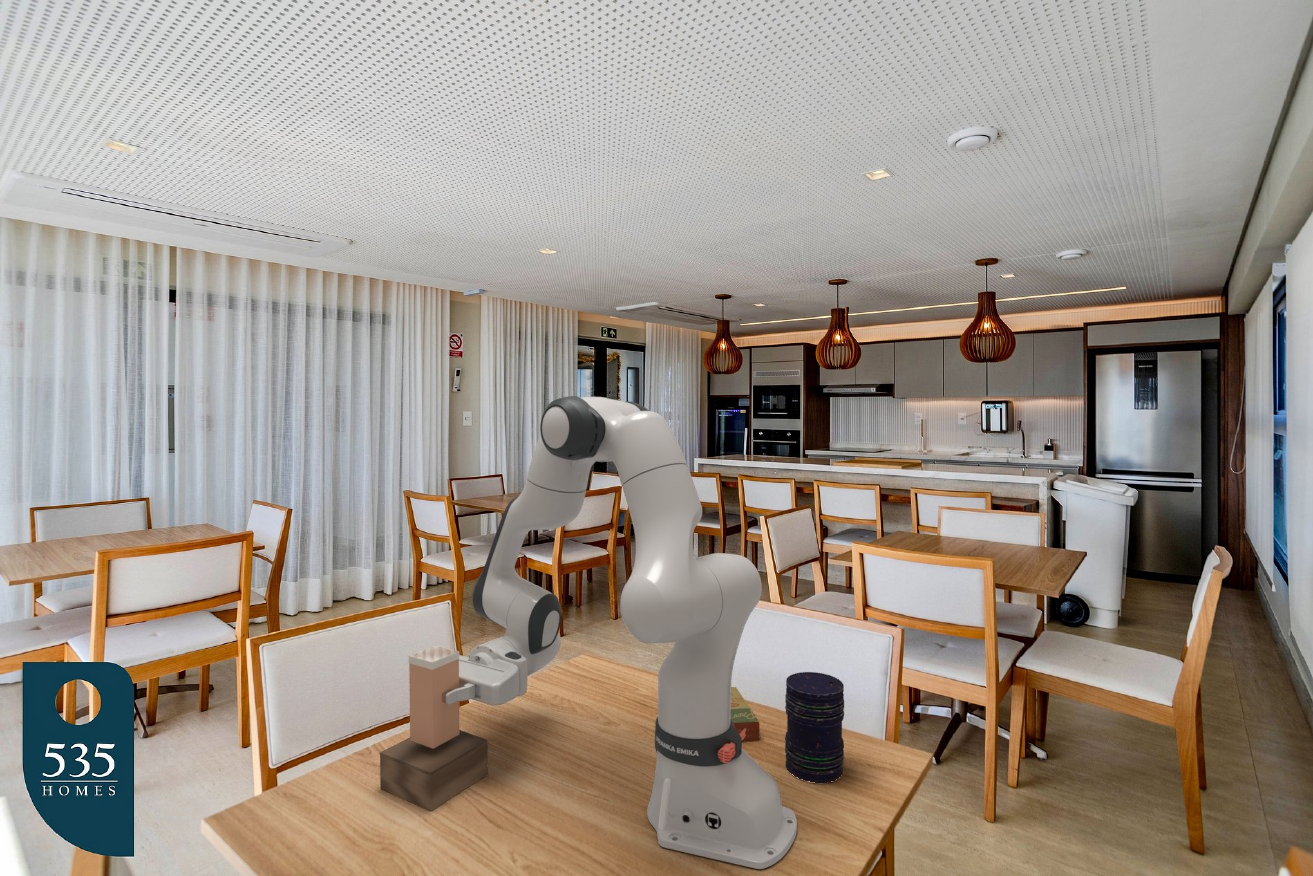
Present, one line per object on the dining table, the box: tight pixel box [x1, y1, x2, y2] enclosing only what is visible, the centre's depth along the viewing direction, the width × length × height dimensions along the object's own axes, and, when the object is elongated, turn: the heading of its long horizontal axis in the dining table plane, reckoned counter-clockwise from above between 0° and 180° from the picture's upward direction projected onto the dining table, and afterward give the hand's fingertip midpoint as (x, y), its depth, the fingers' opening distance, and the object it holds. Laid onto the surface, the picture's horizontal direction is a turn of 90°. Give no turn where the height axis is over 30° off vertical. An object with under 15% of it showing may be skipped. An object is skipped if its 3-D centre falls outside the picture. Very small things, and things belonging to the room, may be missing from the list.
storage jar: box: [784, 671, 845, 783], centre depth 112 cm, size 10×10×15 cm
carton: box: [730, 686, 760, 742], centre depth 129 cm, size 8×16×4 cm, turn 9°
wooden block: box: [379, 729, 489, 812], centre depth 108 cm, size 12×12×6 cm
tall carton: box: [408, 645, 461, 749], centre depth 108 cm, size 6×6×14 cm
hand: (430, 694), depth 107 cm, fingers closed on tall carton, 5 cm apart
